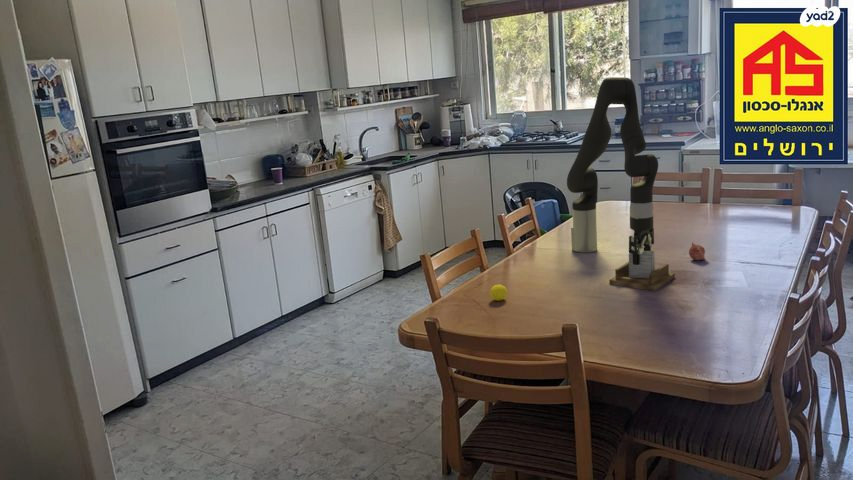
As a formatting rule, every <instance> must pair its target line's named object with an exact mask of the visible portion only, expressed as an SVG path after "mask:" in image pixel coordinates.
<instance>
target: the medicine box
mask: <svg viewBox="0 0 853 480" xmlns="http://www.w3.org/2000/svg"><path fill="white" fill-rule="evenodd" d="M655 259H656V258H655V251H654V250H651V251H644V250H640V264H639V265H634V264H633V254H632V253H629V252H628V262H629V278H648V279H649V274H650V273H652V272H653V271H655V269H656V268H655V265H656V264H655V261H656V260H655Z"/></svg>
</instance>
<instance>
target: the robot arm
mask: <svg viewBox="0 0 853 480" xmlns="http://www.w3.org/2000/svg"><path fill="white" fill-rule="evenodd" d="M610 105H623V106H624V109H625V115H624V117H623V120H622V121H621V125H620V129H619V130H620V131H619V134H620V139H621V143H622V146H623V148H624V172H625V174H626V175H627V176H628V177H630V178H640V177H643V178H642V180H641V181H639V182H636V183H633V184H632V185H631V186H630V188H629V189H630V193H629V194H630V198H629V200H630V202H629V204H630V205H629V229H631V230H632V231H633V235H629V237H628V254H629V253H632V254H633V264H634V265H639V264H640V251H642V249H643V251H652V246H653V245H654V244H655V233H654V232H655V228H654V203H653V200H654V199H653V189H654V184H655V179H656V177H657V175H658V170H659V161H658V160H659V159H658V158H657V157H656V156H655V154H652V153H651V154H650V153H648V154H641V153H643V152H644V151H645V150H646V148H647V142H646V139H645V137H644V133H643V129H642V126H641V123H640V116H639V107H638V99H637V91H636V87H635V83H634V81H633V80H632V79H631V78H630V77H624V76H623V77H618V76H617V77H616V76H614V77H613V76H612V77H611V76H609V77H604V79H603V80H602V82H601V83H600V85H599V89H598V93H597V95H596V100H595V105H594V109H593V112H592V114H591V117H590V121H589V123H588V125H587V128H586V130H585V133H584V136H583V139H582V141H581V145H580V147H579V150H578V153H577V155H576V157H575V159H574V162H573V163H572V165H571V167H570V170H569V172H568V174H567V177H566V178H567V179H566V186H567V190H568V191H569V192H571V193H573V194H580V193H581V195H580V196H579V197H577V199H575V200H574V201H573V202H571V203H572V207H571V208H572V227H570V235H571V239H570V242H571V251H574V252H576V253H580V254H581V253H582V254H583V253H586V254H587V253H589V254H590V253H593V252H596V251H597V250H598V234H597V233H598V231H597V228H598V227H597V223H598V222H597V203H598V191H599V190H598V188H599V187H598V186H599V178H598V174H597V172H596V170H595V168H594V167H593V168H592V167H590V166H591V165H592V164H593V163H594V162H596V161H597V160H598V159H599V158H600V157H601V156H602V154H604V153H605V151H606V150H607V148H608V146H609V143H610V141H611V138H612V128H611V126H610V125H611V124H610V123H609V122H610V121H609V120H608V116H607V115H608V114H607V112H608V109H609V106H610Z"/></svg>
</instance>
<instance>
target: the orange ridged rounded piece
mask: <svg viewBox="0 0 853 480" xmlns="http://www.w3.org/2000/svg"><path fill="white" fill-rule="evenodd" d="M705 254H706V250H705V247H703V246H702V245H699V244H695V243H694V242H691V247H690V248H689V250H688V255H689V257H690V258H691V259H692V260H694V261H700V260H704V261H706V260H707V259H706V257H705Z"/></svg>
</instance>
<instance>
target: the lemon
mask: <svg viewBox="0 0 853 480" xmlns="http://www.w3.org/2000/svg"><path fill="white" fill-rule="evenodd" d="M489 295H490V297H491V298H492V300H494V301H497V302H499V301H503V300H504V299H505V298H506V297H507V295H508V290H507V288H506V286H504V285H502V284H495V285H493V286H492V287H491V289H490V291H489Z"/></svg>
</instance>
